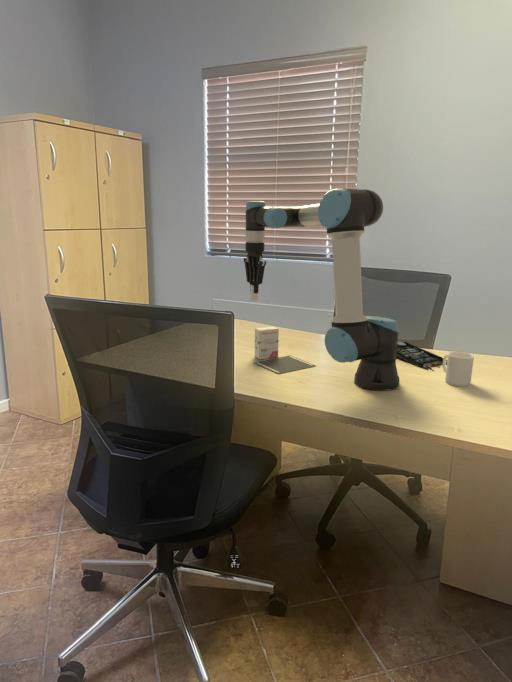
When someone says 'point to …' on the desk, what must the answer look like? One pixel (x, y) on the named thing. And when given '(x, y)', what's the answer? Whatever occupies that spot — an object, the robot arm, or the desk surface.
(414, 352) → the building model
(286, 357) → the mat
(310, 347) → the desk surface
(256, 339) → the ink box
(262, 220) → the robot arm
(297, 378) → the desk surface
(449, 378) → the cup
